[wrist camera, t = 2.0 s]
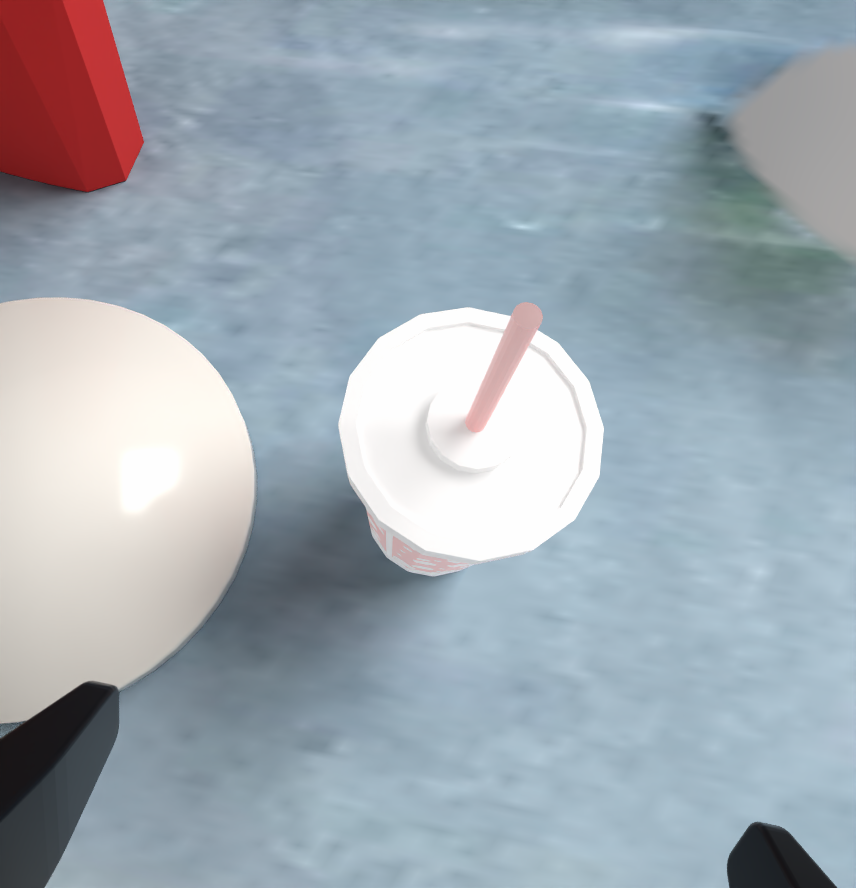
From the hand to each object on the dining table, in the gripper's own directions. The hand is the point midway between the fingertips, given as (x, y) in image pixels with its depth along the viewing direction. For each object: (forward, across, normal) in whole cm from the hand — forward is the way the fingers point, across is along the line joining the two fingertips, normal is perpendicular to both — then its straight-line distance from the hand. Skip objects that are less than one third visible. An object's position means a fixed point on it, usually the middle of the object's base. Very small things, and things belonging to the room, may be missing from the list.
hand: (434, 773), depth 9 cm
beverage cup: (+14, 0, +4) cm, 15 cm away
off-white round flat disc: (+12, +13, +6) cm, 19 cm away
